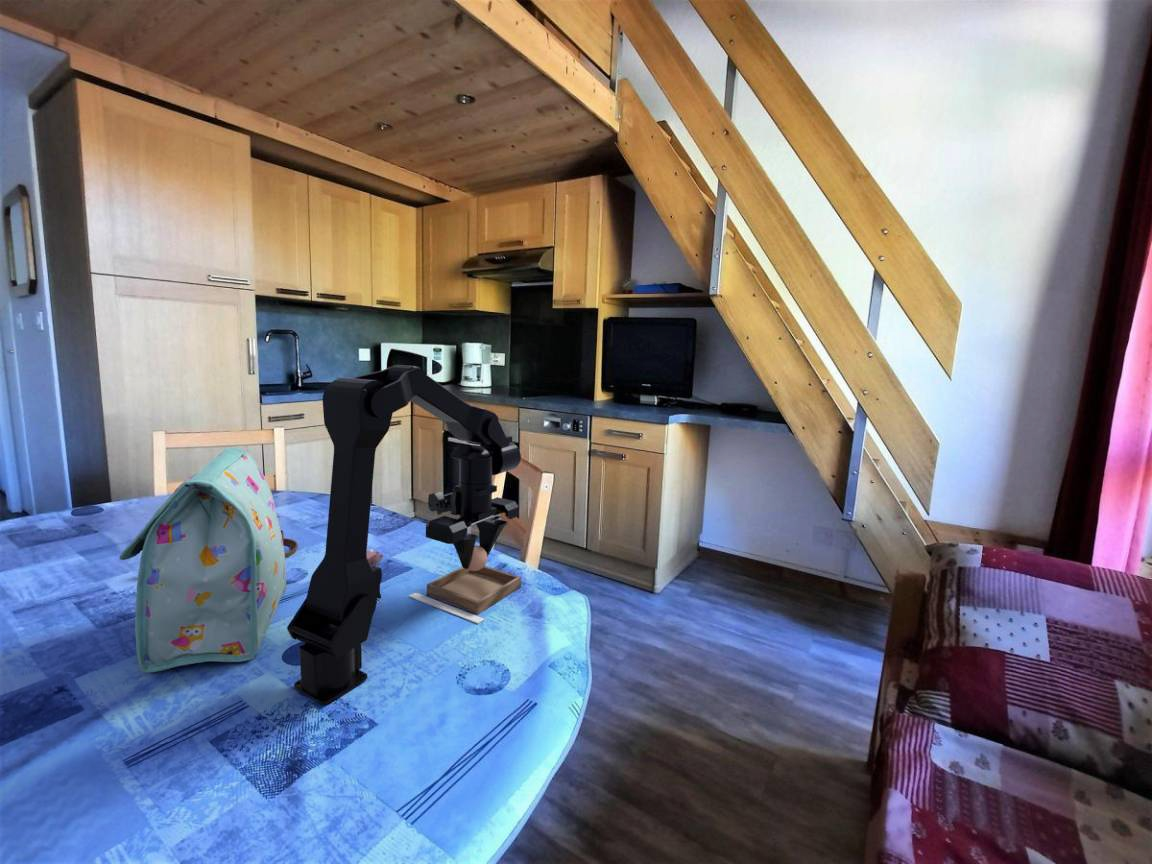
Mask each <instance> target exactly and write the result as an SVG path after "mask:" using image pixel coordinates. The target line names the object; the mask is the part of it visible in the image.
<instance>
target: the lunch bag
mask: <svg viewBox="0 0 1152 864" xmlns="http://www.w3.org/2000/svg"><path fill="white" fill-rule="evenodd" d="M276 510H277V509H276V505H275V501H274V497H273V493H272V490H271V488H270V484H269V482H268V481H267V479H266V476H265V475H264V474H263V472H262V470H261V469H260V467H259V465H258V463H257V461H255V459H254V458H253V456H252V455H251V453H249V452H247V451H245V450H243V449H241V448H237V447H233V446H230V447H226V448H225V449H224V450H223V451H222V452H221V453H219V454H218V455H217V456H216V457H215V458H213V459H212V460H211V461H209V462H208V463H207V464H206V465H205V466H203V467H202V468H201V469H200V470H198V471H197V472H196V473H195V474H193V475H191V476H190V477H188V478H187V479H186V480H184V481H183V482H182V483H181V484H180V485H178V487H176V489H175V490H174V491H173V492H172V493H171V495H170V496H169V497H168V498H167V499H166V500H165V501H164V502H163V504H162V505H160V507H159V508H158V509H157V510H156V511H155V513H154V514H153V516H151V518H150V519H149V521H148V522H147V523H146V525H145V526H144V527H143V528H142V529H141V530H140V532H139V533H138V534H137V535H136V536H135V538H134V539H132V541H131V542H130V543H129V544H128V545H127V546H126V547H125V549H123V551H122V552H121V553H120V554H119V557H118V558H119V560H121V561H126V560H129V559H132V558H134V557H136V556H138V555H139V554H140V553H141V554H140V559H139V560H140V561H139V568H138V574H137V583H136V591H135V592H136V594H135V595H136V596H135V599H136V600H135V615H134V616H135V618H134V629H135V631H134V633H135V645H136V646H135V647H136V648H135V650H136V651H135V653H136V658H137V664H138V667H140V669H141V672H142V673H156V672H161V671H165V670H169V669H172V668H177V667H181V666H187V665H192V664H199V663H205V662H221V663H222V662H223V663H240V662H246V661H250V660H252V659H254V658H255V656H256V655H257V652H258V651H259V649H260V646H261V644H262V642H263V639H264V637H265V635H266V633H267V630H268V629H269V626H270V624H271V623H272V620H273V618H274V615H275V613H276V612H277V609H278V607H279V603H280V601H281V599H282V597H283V595H284V593H285V592H286V590H287V564H286V563H287V562H286V558H285V553H286V552H285V547H284V544H283V540H282V535H281V530H282V529H281V527H280V521H279V518H278V513H277V511H276Z"/></svg>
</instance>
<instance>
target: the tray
mask: <svg viewBox="0 0 1152 864" xmlns="http://www.w3.org/2000/svg"><path fill="white" fill-rule="evenodd" d="M521 587H522V577H521V576H518V575H515V574H513V573H512V574H511V573H510V572H509V573H508V572H506V571H503V570H499V569H496V568H493V567H490V566H486V565H485V566H484V567H483V568H482V569H480V570H478V571H471V570H468V569H465V568H463V567H462V566H461V567H459V568H457V569H455V570H453V571H451V572H449V573H447V574H445V575H443V576H441V577H438V578H436V579H435V580H433V581H430V582H429V583H427V584H426V596H427V597H430V598H433V599H435V600H439V601H440V602H441V601H442V602H443V603H444V602H445V603H446V604H448V605H449V604H450V605H451V606H452V605H453V606H455V607H456V608H459V609H460V608H461V610H464V611H468V612H469V613H472V614H474V615H480V614H481V613H482V612H484V611H486V610H488V609H489V608H491V607H492V606H494V605H495V604H497V603H499V602H500V601H502V600H503V599H505V598H507V597H508V596H509V595H511V594H512V593H514V592H515V591H517V590H519V589H520V588H521ZM501 599H502V600H501Z"/></svg>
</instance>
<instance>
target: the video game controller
mask: <svg viewBox="0 0 1152 864" xmlns="http://www.w3.org/2000/svg"><path fill="white" fill-rule="evenodd" d="M383 557H384V555H383V554H382V553H381V552H379V551H377V550H374V549H373V548H370V549H369V550H367V559H368V561H369V564H370V565H372V566H375V567H378V565H379V564H380V562H381V561H382V560H383Z"/></svg>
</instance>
